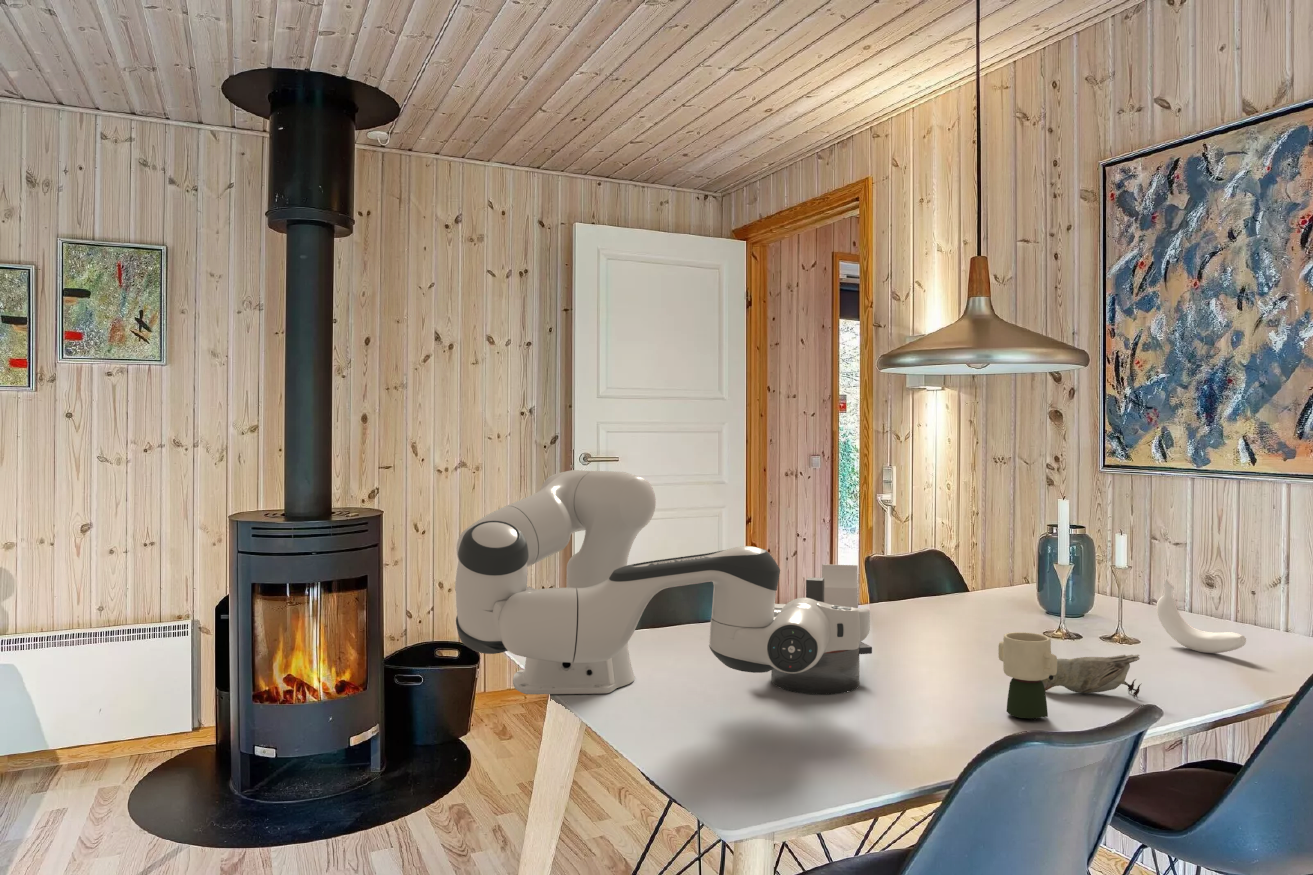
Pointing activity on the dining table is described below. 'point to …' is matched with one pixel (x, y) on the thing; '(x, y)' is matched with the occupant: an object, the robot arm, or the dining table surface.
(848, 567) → the milk carton
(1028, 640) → the character mug
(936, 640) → the dining table surface
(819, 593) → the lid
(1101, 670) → the decorative bird
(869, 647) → the pot
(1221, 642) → the banana
